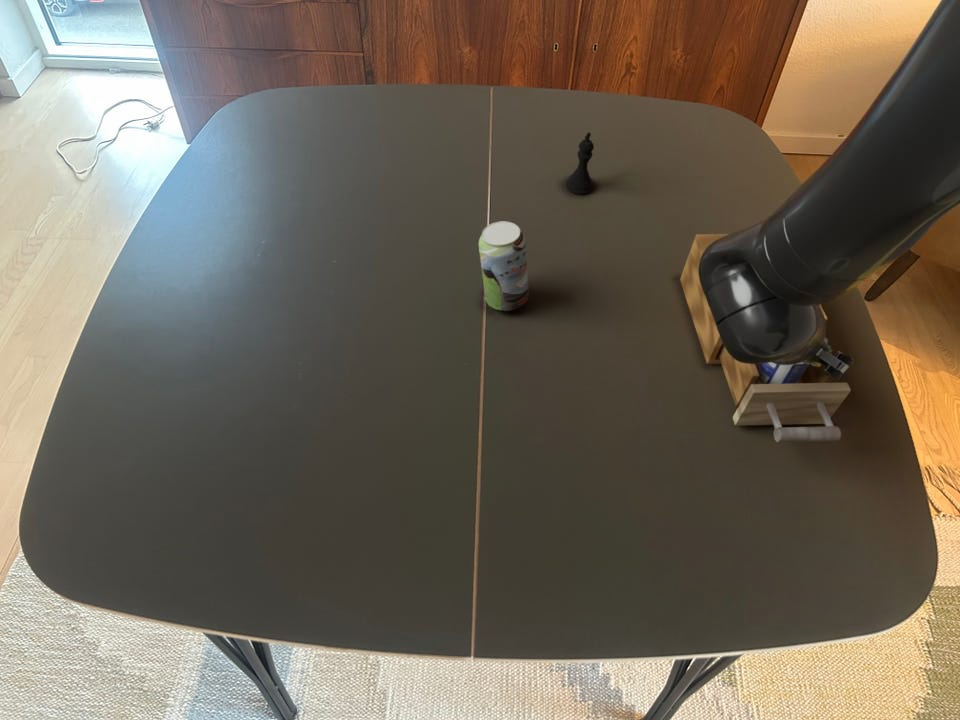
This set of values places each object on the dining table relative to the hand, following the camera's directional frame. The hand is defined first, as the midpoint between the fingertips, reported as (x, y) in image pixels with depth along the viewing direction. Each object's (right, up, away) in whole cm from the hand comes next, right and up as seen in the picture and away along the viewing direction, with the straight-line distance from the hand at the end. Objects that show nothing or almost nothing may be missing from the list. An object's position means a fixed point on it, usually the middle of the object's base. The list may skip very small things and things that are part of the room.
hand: (797, 342), depth 84 cm
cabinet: (-2, +3, +14) cm, 14 cm away
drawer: (-2, -6, +5) cm, 8 cm away
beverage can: (-35, +6, +15) cm, 38 cm away
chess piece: (-22, +26, +31) cm, 46 cm away
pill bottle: (-2, -4, +3) cm, 6 cm away
